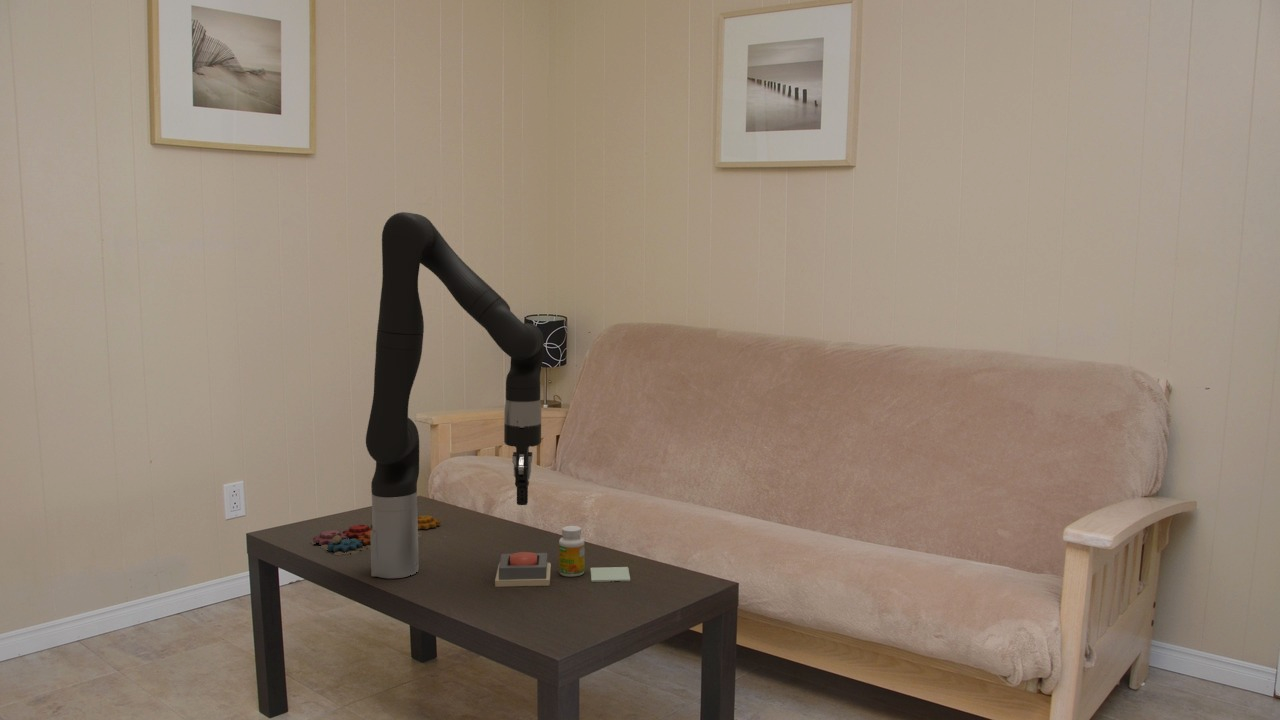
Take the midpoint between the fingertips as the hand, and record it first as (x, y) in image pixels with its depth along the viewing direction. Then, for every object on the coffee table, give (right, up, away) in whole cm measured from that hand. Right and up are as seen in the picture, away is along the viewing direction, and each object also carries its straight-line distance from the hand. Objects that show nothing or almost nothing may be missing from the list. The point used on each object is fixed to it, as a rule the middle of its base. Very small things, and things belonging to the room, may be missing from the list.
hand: (522, 504), depth 198 cm
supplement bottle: (+10, -15, +4) cm, 19 cm away
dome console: (0, -15, +2) cm, 16 cm away
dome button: (0, -14, +1) cm, 14 cm away
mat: (+18, -15, +3) cm, 24 cm away
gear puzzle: (-37, -13, +31) cm, 50 cm away
